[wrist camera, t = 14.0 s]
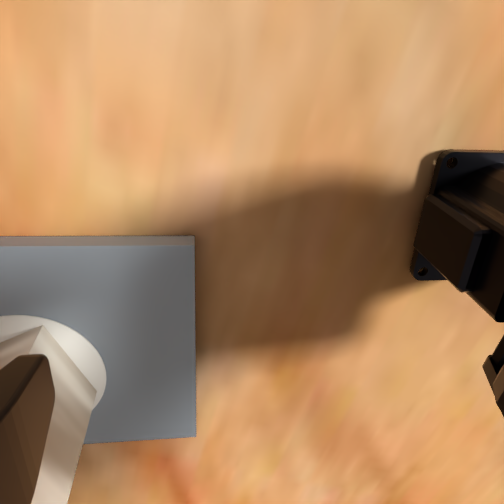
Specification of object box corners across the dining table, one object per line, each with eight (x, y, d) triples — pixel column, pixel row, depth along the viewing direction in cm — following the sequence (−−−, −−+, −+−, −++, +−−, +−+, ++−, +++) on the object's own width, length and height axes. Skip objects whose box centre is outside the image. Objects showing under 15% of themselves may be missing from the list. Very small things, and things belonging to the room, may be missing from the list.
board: (194, 235, 20) (194, 246, 19) (196, 422, 25) (196, 438, 24) (-148, 236, 18) (-167, 248, 17) (-66, 438, 23) (-77, 456, 22)
